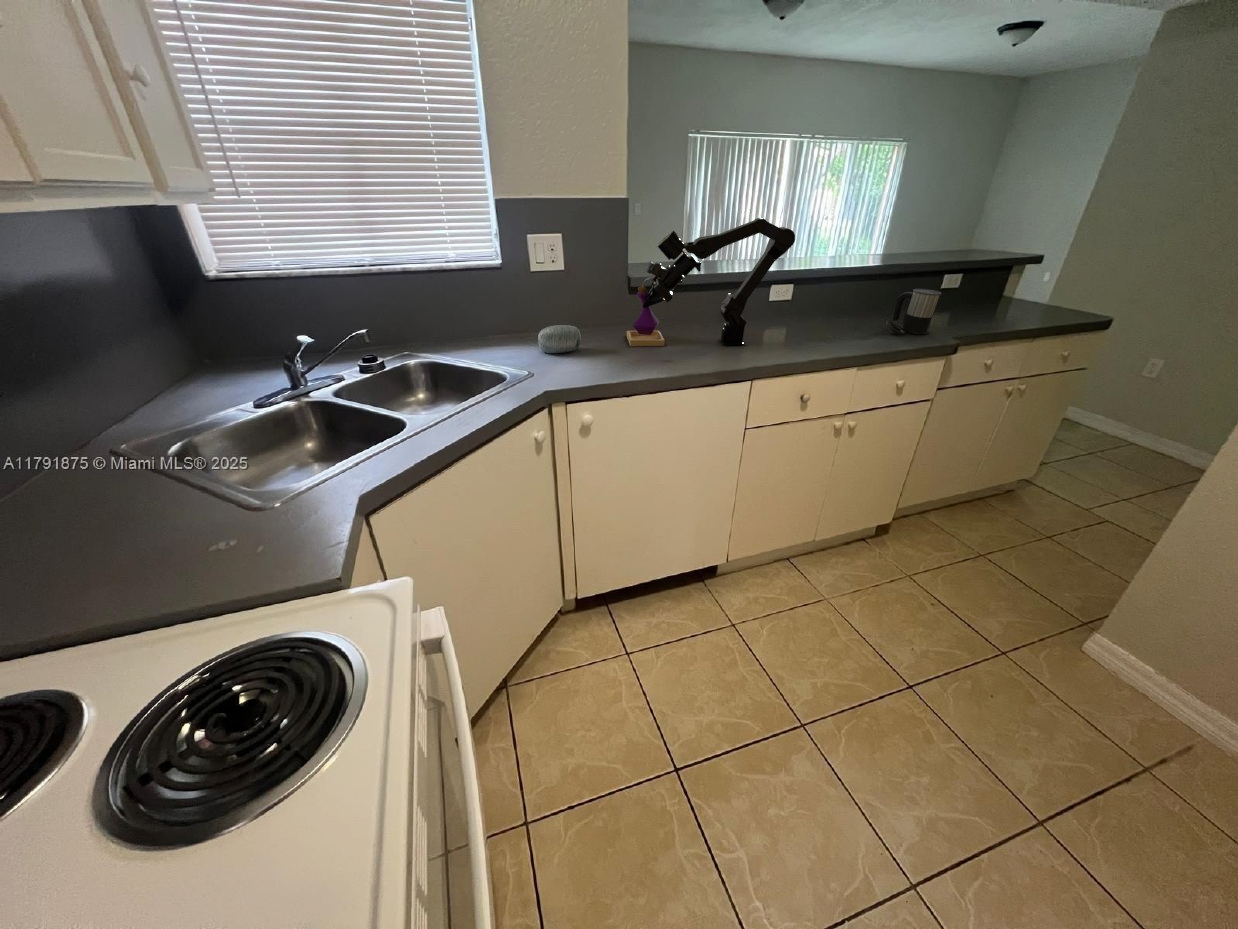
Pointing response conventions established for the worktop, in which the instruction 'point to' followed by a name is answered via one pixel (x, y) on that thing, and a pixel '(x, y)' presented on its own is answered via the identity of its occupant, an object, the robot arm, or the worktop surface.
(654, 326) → the perfume bottle
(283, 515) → the worktop surface
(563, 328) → the grey rounded pouf
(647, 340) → the wooden tray
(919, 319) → the milk frother
